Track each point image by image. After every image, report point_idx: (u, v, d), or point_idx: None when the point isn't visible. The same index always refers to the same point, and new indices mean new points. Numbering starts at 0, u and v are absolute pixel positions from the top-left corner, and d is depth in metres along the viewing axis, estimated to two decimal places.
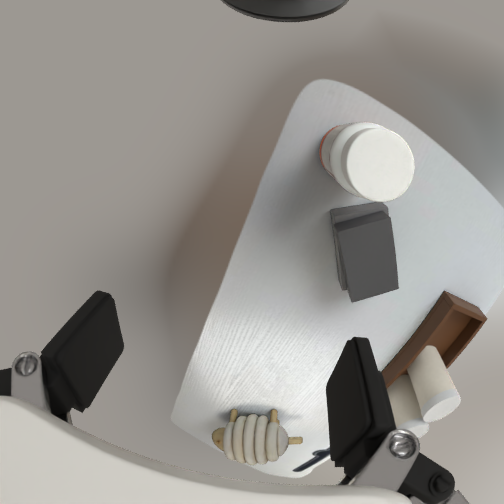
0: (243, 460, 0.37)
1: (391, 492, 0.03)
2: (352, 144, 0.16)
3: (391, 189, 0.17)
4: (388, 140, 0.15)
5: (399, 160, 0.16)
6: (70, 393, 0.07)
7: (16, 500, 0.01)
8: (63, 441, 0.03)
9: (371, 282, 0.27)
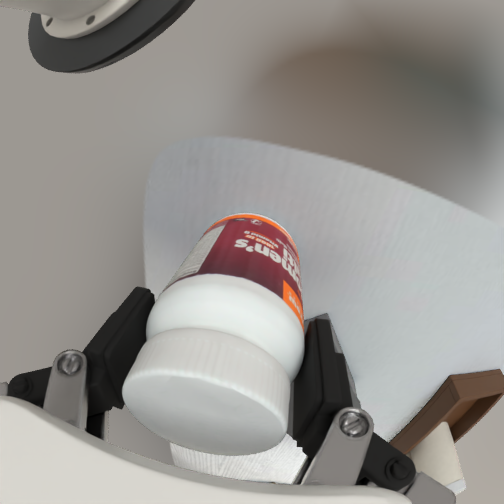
0: None
1: (391, 492, 0.03)
2: (123, 396, 0.07)
3: (240, 446, 0.07)
4: (187, 391, 0.06)
5: (235, 417, 0.06)
6: (112, 390, 0.07)
7: (16, 500, 0.01)
8: (63, 440, 0.03)
9: None
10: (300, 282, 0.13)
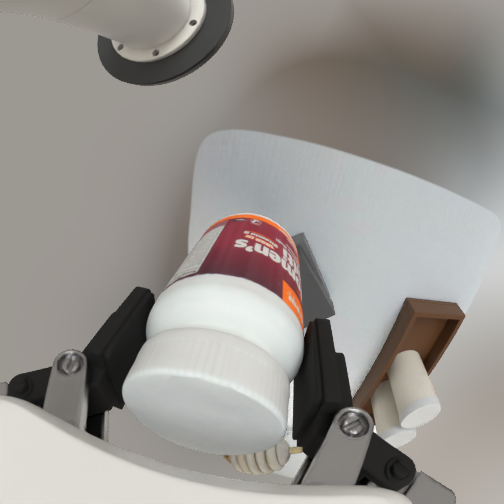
0: (249, 471, 0.40)
1: (391, 492, 0.03)
2: (123, 395, 0.07)
3: (239, 446, 0.07)
4: (187, 390, 0.06)
5: (235, 417, 0.06)
6: (113, 389, 0.07)
7: (16, 500, 0.01)
8: (63, 440, 0.03)
9: (303, 314, 0.29)
10: (300, 282, 0.13)
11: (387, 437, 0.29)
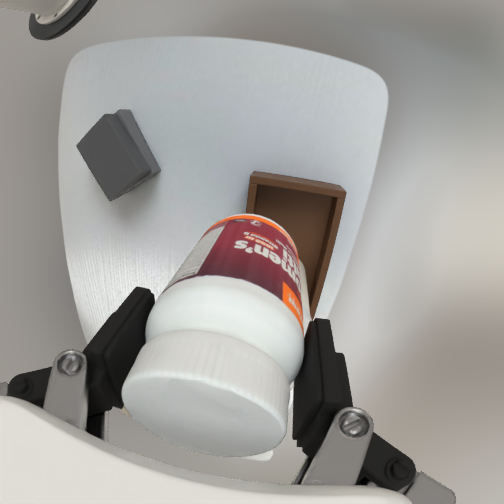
0: (127, 411, 0.37)
1: (391, 492, 0.03)
2: (122, 397, 0.07)
3: (239, 448, 0.07)
4: (186, 393, 0.06)
5: (235, 419, 0.06)
6: (113, 389, 0.07)
7: (16, 500, 0.01)
8: (63, 440, 0.03)
9: (114, 176, 0.26)
10: (300, 283, 0.13)
11: None
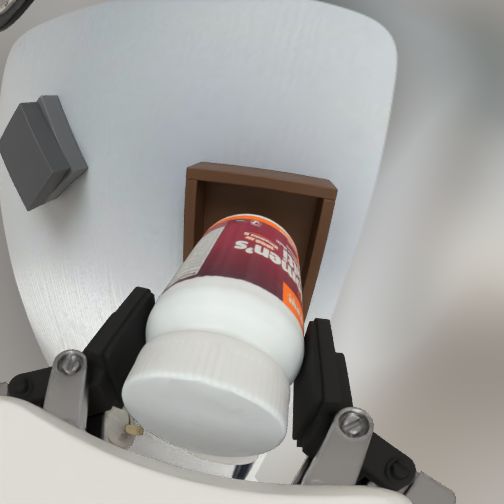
0: None
1: (391, 492, 0.03)
2: (122, 398, 0.07)
3: (239, 448, 0.07)
4: (186, 393, 0.06)
5: (235, 420, 0.06)
6: (113, 389, 0.07)
7: (16, 500, 0.01)
8: (63, 440, 0.03)
9: (29, 179, 0.17)
10: (300, 283, 0.13)
11: None
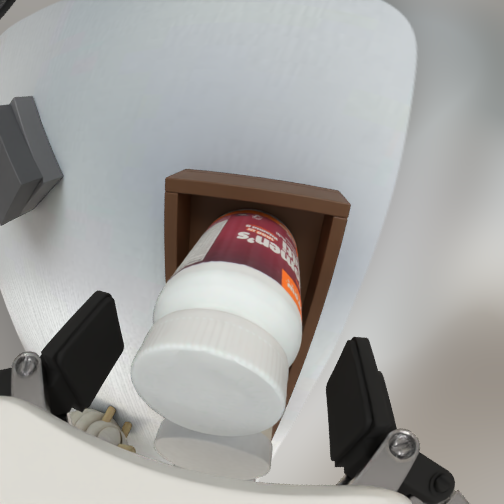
0: None
1: (391, 492, 0.03)
2: (131, 375, 0.08)
3: (241, 426, 0.08)
4: (192, 365, 0.07)
5: (237, 392, 0.07)
6: (70, 393, 0.07)
7: (16, 500, 0.01)
8: (64, 441, 0.03)
9: None
10: (298, 273, 0.13)
11: None
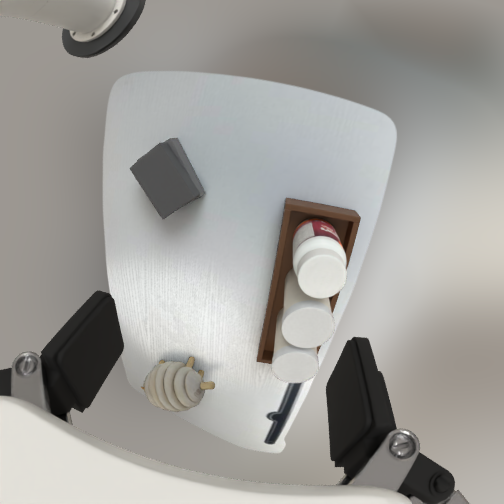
0: (161, 403, 0.44)
1: (391, 492, 0.03)
2: (299, 270, 0.27)
3: (331, 289, 0.28)
4: (323, 261, 0.26)
5: (334, 271, 0.27)
6: (70, 393, 0.07)
7: (16, 500, 0.01)
8: (63, 440, 0.03)
9: (168, 198, 0.34)
10: None
11: (276, 358, 0.33)
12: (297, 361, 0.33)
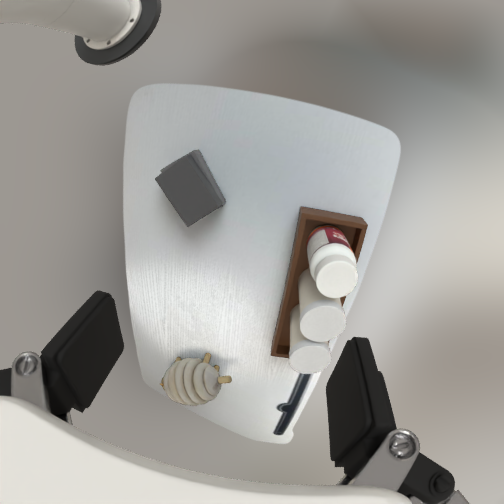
0: (180, 398, 0.48)
1: (391, 492, 0.03)
2: (317, 274, 0.31)
3: (344, 290, 0.31)
4: (338, 266, 0.30)
5: (347, 274, 0.31)
6: (70, 393, 0.07)
7: (16, 500, 0.01)
8: (63, 441, 0.03)
9: (193, 207, 0.37)
10: None
11: (294, 351, 0.37)
12: (312, 354, 0.37)
